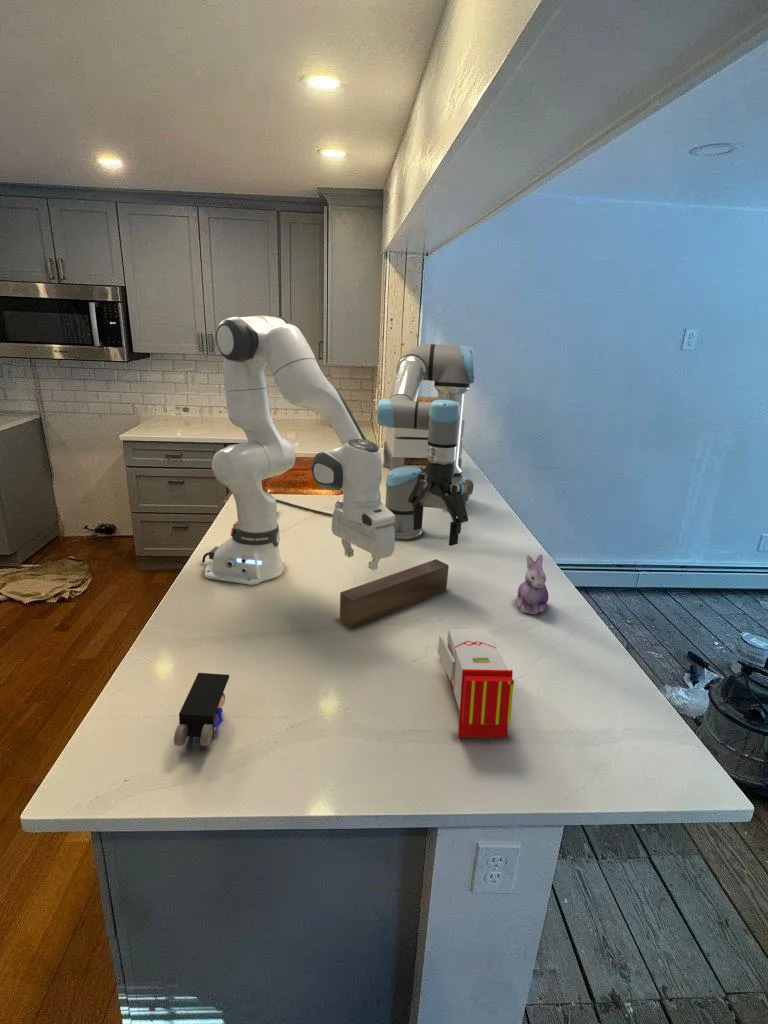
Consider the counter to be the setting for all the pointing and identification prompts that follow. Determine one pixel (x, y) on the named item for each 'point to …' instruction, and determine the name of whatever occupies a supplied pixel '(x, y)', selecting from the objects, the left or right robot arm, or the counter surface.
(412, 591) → the plank
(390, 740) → the counter surface
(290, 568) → the counter surface
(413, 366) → the right robot arm
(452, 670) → the toy
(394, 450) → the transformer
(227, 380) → the left robot arm
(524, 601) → the figurine
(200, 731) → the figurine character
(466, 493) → the fossil
